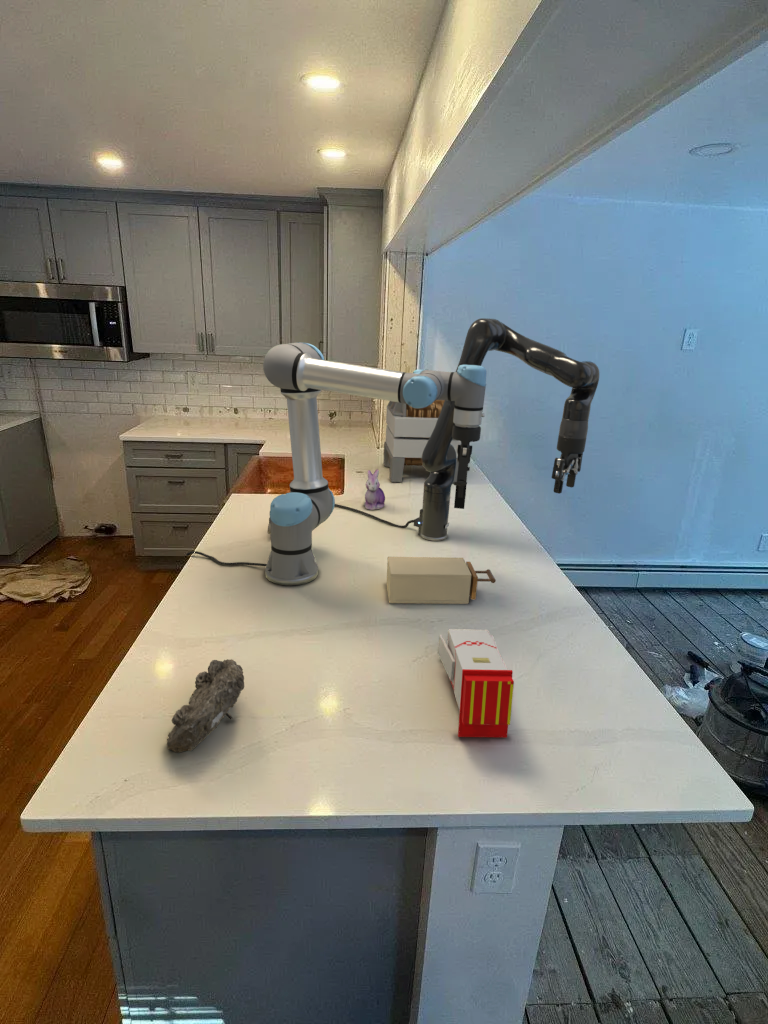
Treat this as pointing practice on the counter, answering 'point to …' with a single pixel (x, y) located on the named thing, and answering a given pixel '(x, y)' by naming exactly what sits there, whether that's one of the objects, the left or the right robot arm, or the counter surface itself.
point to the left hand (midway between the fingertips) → (459, 500)
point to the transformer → (410, 436)
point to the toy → (478, 682)
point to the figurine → (374, 492)
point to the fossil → (206, 705)
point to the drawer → (475, 578)
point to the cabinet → (428, 580)
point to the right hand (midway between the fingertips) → (563, 489)
